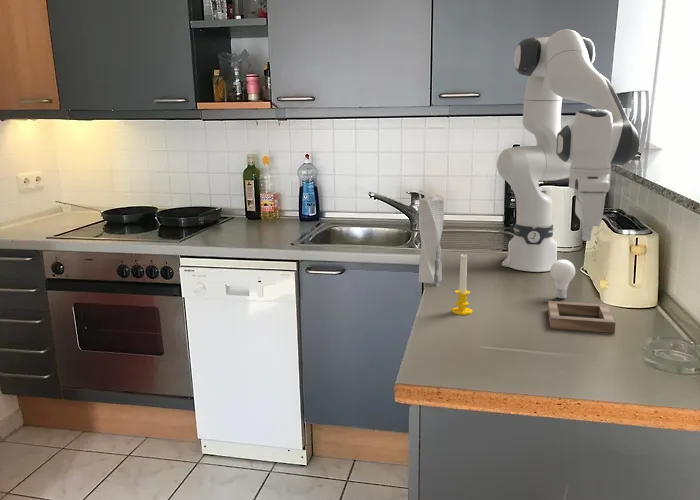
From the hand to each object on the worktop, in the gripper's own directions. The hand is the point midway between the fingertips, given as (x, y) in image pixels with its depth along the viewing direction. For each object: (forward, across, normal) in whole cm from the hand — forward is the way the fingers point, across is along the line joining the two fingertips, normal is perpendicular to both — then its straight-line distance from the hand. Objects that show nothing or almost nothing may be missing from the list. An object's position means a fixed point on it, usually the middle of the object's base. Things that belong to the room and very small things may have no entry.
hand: (585, 239), depth 141 cm
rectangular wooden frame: (+20, 0, 0) cm, 20 cm away
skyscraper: (+20, -26, -40) cm, 52 cm away
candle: (+20, -1, -28) cm, 35 cm away
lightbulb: (+20, -18, -3) cm, 28 cm away
